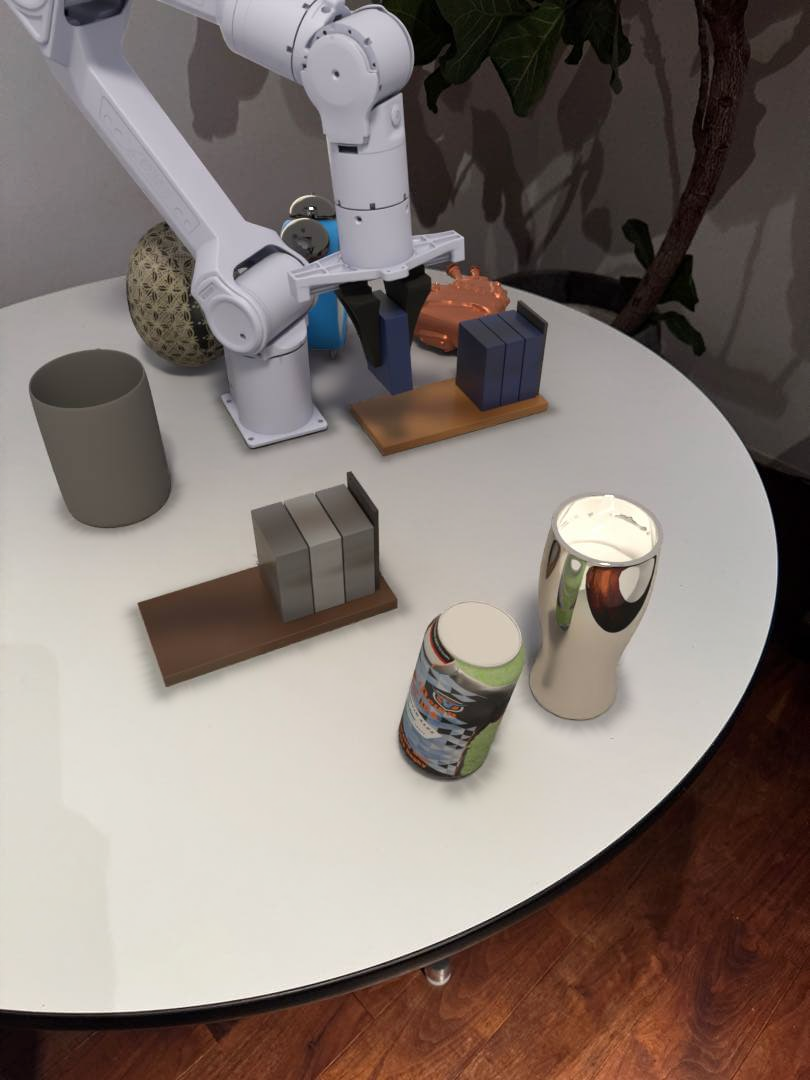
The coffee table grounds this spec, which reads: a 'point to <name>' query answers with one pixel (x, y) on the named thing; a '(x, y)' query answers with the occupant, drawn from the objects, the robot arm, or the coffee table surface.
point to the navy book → (393, 347)
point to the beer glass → (592, 599)
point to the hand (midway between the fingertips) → (387, 358)
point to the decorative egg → (168, 300)
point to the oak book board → (430, 416)
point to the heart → (458, 306)
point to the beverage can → (461, 688)
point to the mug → (101, 436)
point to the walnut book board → (234, 623)
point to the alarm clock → (313, 243)
